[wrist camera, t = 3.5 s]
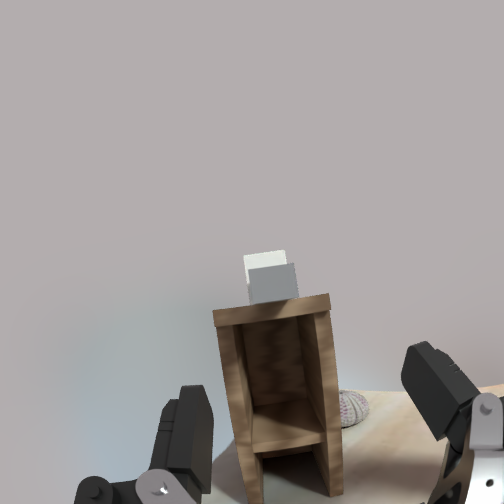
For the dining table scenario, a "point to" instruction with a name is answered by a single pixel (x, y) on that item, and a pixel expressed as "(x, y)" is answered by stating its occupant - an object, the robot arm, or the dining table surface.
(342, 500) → the dining table surface
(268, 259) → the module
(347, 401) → the sea urchin shell
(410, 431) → the dining table surface
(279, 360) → the shelf unit
